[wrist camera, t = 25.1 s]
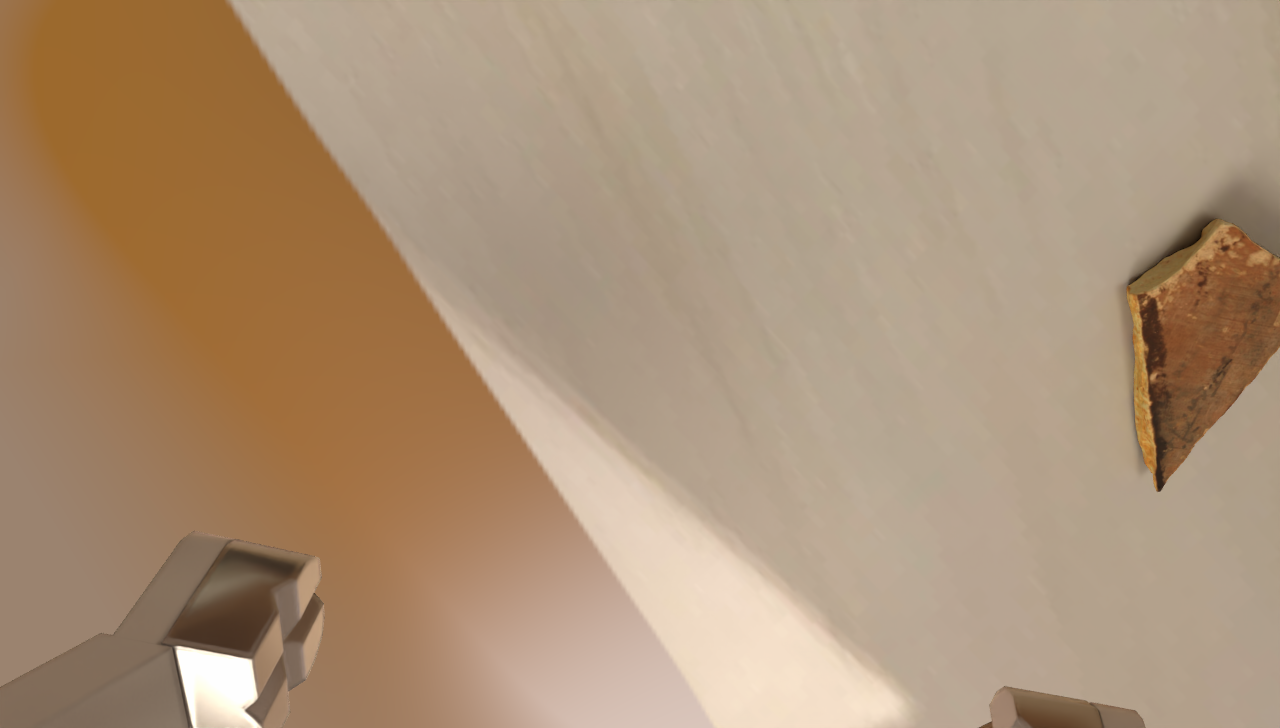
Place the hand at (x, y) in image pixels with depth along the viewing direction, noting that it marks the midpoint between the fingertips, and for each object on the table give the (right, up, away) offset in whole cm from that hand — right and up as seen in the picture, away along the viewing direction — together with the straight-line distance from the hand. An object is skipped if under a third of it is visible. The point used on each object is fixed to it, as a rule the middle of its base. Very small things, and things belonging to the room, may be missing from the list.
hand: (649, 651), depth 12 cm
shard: (+24, +5, +32) cm, 41 cm away
